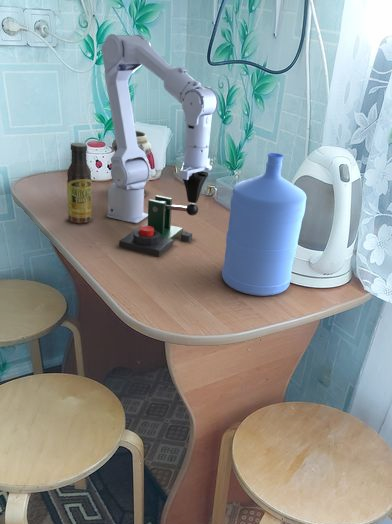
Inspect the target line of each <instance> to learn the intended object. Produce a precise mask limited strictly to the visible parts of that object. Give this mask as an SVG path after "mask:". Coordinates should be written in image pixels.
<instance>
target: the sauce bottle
mask: <svg viewBox="0 0 392 524" xmlns="http://www.w3.org/2000/svg"><path fill="white" fill-rule="evenodd" d="M70 151H71V160H70V161H71V163H70V164H69V167H68V169H67V175H66V176H67V180H66V187H67V193H66V194H67V215H68V218H67V219H68V220H69V222H70V223H74V224H85V223H86V224H87V223H89V222H90V221H91V219H92V173H91V172H92V171H91V168H90V166H89V164H88V160H87V152H88V145H87V144H86V143H83V142H72V143H70Z"/></svg>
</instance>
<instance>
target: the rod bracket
mask: <svg viewBox="0 0 392 524" xmlns="http://www.w3.org/2000/svg"><path fill="white" fill-rule="evenodd" d="M156 200H163V201H166V203H167V204H169V205H173V198H172V197H168V196H163V195H159V194H156V195H155V197H154V199H151V198H149V199H148V200H147V201H148V202H147V214H148V216H147V222H145V223H144V224H142V225H141V226H151V227H153V228H154V230H156V231H158V232H159V234H160V237H163V238H167V239H172V240H173V241H174V240H175V239H177V237H179V236H181V234H182V233H183V232H184V228H183V227H181V226H176V225H172V210H169V209H167V210H166V211H165V204H166V203H165V202H161V201H156ZM141 226H139V227H138V228H136V229H135V230H137V229H139V228H140V227H141Z"/></svg>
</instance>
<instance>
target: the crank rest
mask: <svg viewBox="0 0 392 524" xmlns="http://www.w3.org/2000/svg"><path fill="white" fill-rule="evenodd" d="M179 240H180V241H181V242H186V243H190V242H191V241H192V240H193V233H191V232H188V231H183V232H182V233H181V234H180V237H179Z"/></svg>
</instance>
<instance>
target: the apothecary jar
mask: <svg viewBox="0 0 392 524" xmlns="http://www.w3.org/2000/svg"><path fill="white" fill-rule="evenodd" d="M135 131H136V138H137V144H138V147H139V148H140V149H141V150H142V151H144V152H145V154H146V159H147V160H148V155H149V154H150V153H151V152H152V145H151V143H150V141H148V139H147V133H145V132H144V131H140V130H135ZM111 148H112V150H113V151H114V153H115V152H116V151H117V144H116V138H115V139H114V140H113V141H112V143H111ZM129 160H133V159H128V160H126V161H129ZM151 176H152V175H151V174H150V177H149V179H148V180H147V181H146V184H147V183H148V182H149V181H150V180H151ZM146 195H147V191H146V190H145V189H144V197H145V196H146Z"/></svg>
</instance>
